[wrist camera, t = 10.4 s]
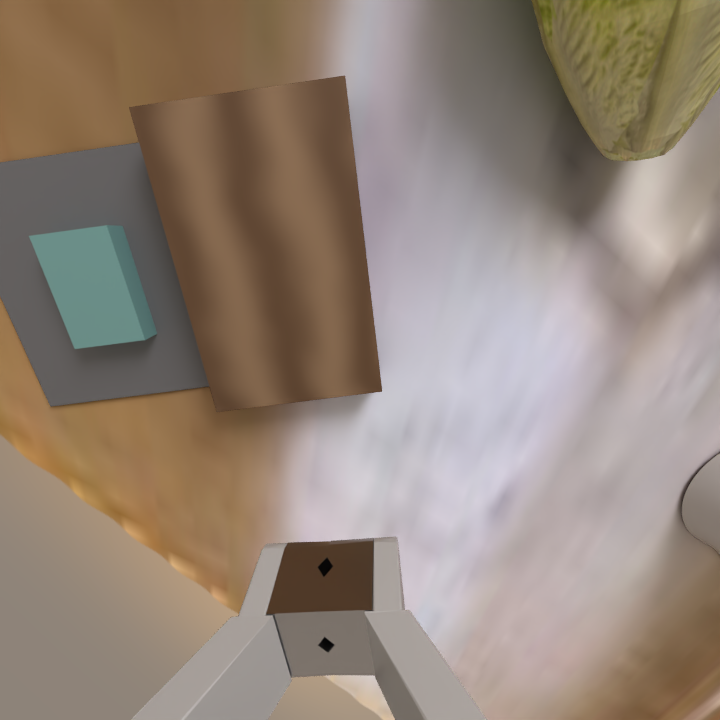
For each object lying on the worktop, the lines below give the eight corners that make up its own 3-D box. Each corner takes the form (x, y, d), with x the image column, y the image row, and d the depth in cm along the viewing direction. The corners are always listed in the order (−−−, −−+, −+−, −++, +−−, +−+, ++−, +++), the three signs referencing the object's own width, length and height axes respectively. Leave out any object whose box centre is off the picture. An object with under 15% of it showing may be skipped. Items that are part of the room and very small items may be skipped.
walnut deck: (346, 97, 27) (344, 75, 23) (378, 373, 34) (382, 391, 30) (160, 125, 27) (129, 107, 23) (231, 392, 34) (216, 411, 30)
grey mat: (151, 142, 27) (149, 141, 27) (218, 384, 34) (217, 385, 34) (-53, 171, 28) (-57, 170, 28) (53, 404, 34) (50, 406, 34)
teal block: (28, 235, 27) (49, 235, 29) (74, 349, 30) (91, 342, 32) (106, 225, 27) (122, 225, 29) (145, 340, 30) (157, 333, 32)
